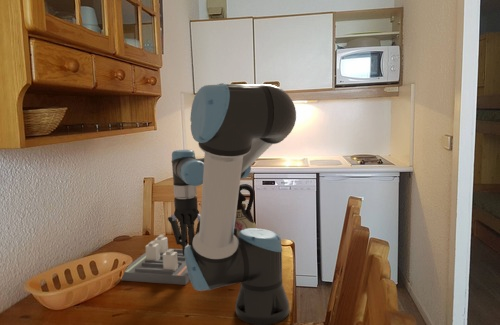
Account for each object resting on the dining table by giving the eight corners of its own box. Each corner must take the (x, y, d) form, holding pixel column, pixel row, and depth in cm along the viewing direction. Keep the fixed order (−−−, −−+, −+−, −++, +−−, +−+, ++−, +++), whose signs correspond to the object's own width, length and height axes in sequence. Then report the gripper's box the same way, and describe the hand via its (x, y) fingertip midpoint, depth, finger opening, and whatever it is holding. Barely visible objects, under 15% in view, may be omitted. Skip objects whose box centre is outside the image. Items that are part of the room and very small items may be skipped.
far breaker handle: (164, 254, 140) (163, 237, 140) (155, 254, 141) (154, 237, 140) (168, 251, 143) (167, 234, 142) (158, 251, 144) (157, 234, 143)
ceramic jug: (215, 266, 136) (211, 187, 132) (227, 251, 150) (224, 179, 147) (260, 269, 131) (257, 187, 128) (268, 253, 146) (266, 179, 142)
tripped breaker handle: (174, 271, 125) (173, 252, 124) (163, 270, 126) (162, 251, 125) (178, 267, 128) (176, 249, 127) (167, 267, 128) (166, 248, 128)
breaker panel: (185, 284, 122) (185, 273, 121) (120, 280, 127) (119, 269, 126) (207, 259, 143) (206, 249, 142) (150, 256, 148) (150, 246, 148)
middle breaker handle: (156, 261, 134) (155, 243, 133) (146, 261, 134) (145, 243, 134) (160, 258, 137) (159, 241, 136) (150, 258, 137) (149, 240, 137)
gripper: (207, 194, 124) (211, 260, 127) (172, 193, 127) (176, 258, 130) (200, 199, 117) (203, 269, 120) (162, 198, 120) (166, 267, 123)
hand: (189, 264), depth 125 cm, fingers closed
